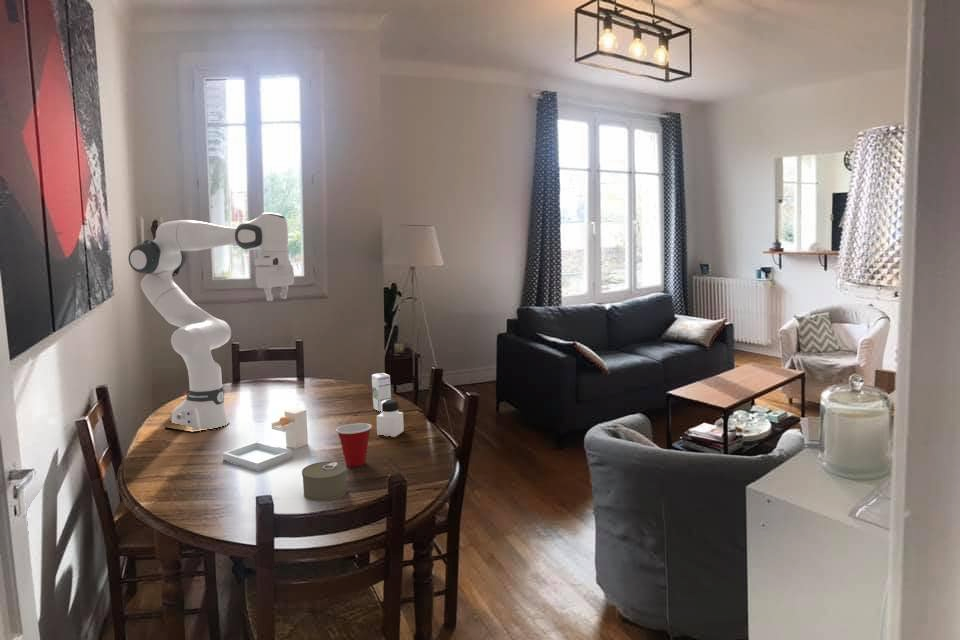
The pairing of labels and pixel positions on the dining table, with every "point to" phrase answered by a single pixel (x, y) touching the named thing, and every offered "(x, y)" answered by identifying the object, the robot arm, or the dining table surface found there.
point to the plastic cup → (354, 443)
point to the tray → (257, 455)
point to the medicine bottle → (390, 419)
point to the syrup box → (380, 389)
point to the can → (324, 481)
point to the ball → (284, 421)
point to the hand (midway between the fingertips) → (276, 299)
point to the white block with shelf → (294, 428)
